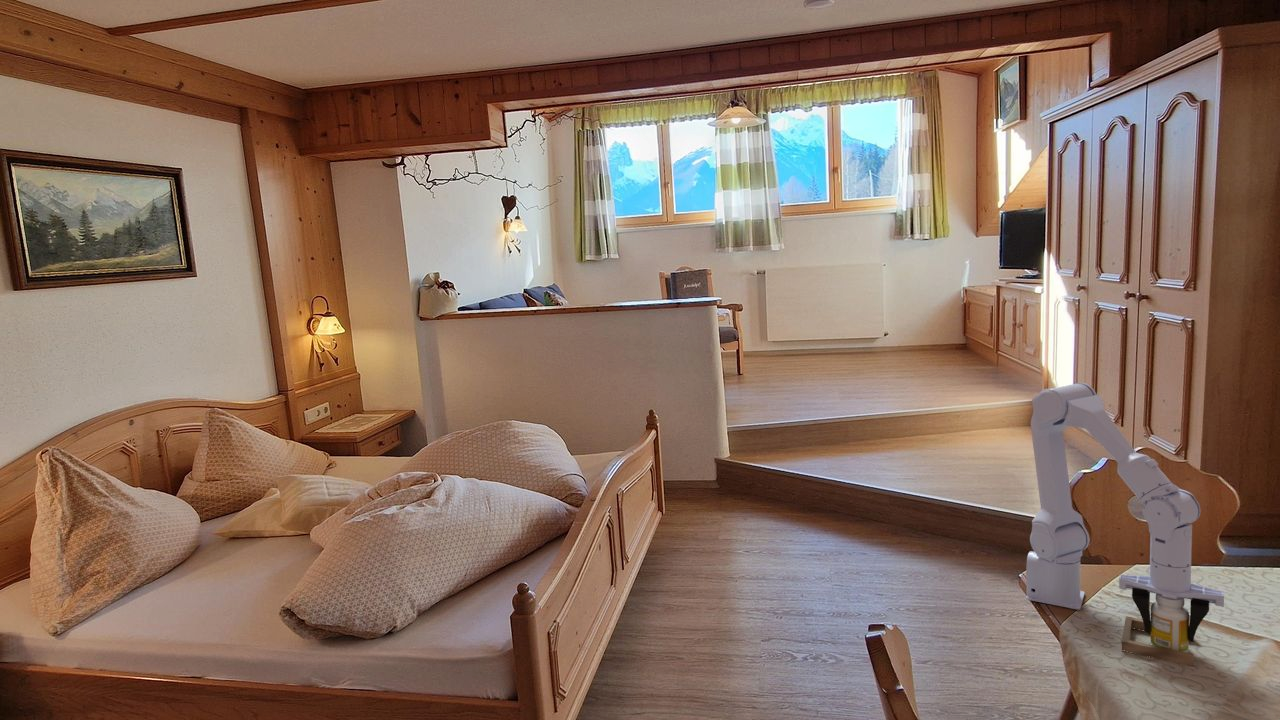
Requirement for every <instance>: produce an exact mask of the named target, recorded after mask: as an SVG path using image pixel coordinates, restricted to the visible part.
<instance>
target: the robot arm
mask: <svg viewBox="0 0 1280 720" xmlns="http://www.w3.org/2000/svg"><path fill="white" fill-rule="evenodd" d="M1031 402H1032V404H1031V405H1032V411H1033V413H1032V415H1031V419H1030V430H1031V431H1030V432H1031V438H1032V439H1031V440H1032V447H1033V448H1032V449H1033V456H1034V462H1035V472H1036V478H1037V480H1036V481H1037V489H1038V493H1039V497H1038V498H1039V504H1040V510H1039V511H1038V512H1037V514H1036V515H1035V516H1034V518H1033V519H1032V521H1031V525H1032V526H1031V533H1030V536H1029V542H1030V546H1031V548H1032V550H1031V551H1029V552H1028V553H1027V556H1026V564H1025V565H1026V567H1025V568H1026V575H1025V576H1026V577H1025V578H1026V583H1025V584H1026V585H1025V586H1026V596H1025V599H1026V600H1027V601H1028V600H1029V601H1033V602H1038V603H1042V604H1048V605H1052V606H1059V607H1062V608H1066V609H1067V608H1068V609H1071V610H1072V609H1073V610H1077V611H1079V610H1081V608H1082V604H1083V601H1084V597H1085V594H1086V592H1085V591H1083V590H1081V557H1083V551H1084V550H1086V549H1087V548H1088V546H1089V545H1090V535H1089V531H1088V530H1087V529H1086V526H1085V524H1084V519H1083V515H1081V514H1080V513H1079V512H1077V511H1076V510H1074V508H1073V503H1072V501H1073V500H1072V494H1071V486H1070V485H1071V484H1070V479H1069V471H1068V463H1067V454H1066V446H1065V438H1064V431H1065V430H1067V429H1068V427H1074V428H1080V429H1083V430H1086V431H1087V432H1088V433H1089V434H1090V435H1091V436H1092V438H1094V439H1095V440H1096V442H1097V443H1098V444H1099V445H1100V446H1101V447H1102V448H1103V449H1104V450H1105V451H1106V453H1108V454H1109V455H1110V456H1111V457H1112V458H1113V460H1114V461H1116V463H1117V468H1116V469H1117V470H1116V472H1117V474H1118V476H1119V477H1120V478H1121V479H1122V480H1123V482H1124V483H1125V484H1126V486H1127V487H1128V488H1129V489H1130V490H1131V492H1132V493H1133V494H1134V495H1135V496H1136V498H1137V499H1138V500H1139V501H1140V502H1141V504H1142V505H1143V506H1144V507H1142V508H1141V513H1142V516H1143V518H1144V520H1145V521H1146V522H1147V525H1148V532H1149V533H1150V541H1149V542H1150V543H1149V544H1150V545H1149V575H1147V576H1146V575H1145V576H1144V575H1143V576H1142V575H1128V574H1119V577H1118V579H1119V580H1118V586H1119V587H1118V589H1120V590H1127V589H1129V590H1131V591H1132V592H1131V599H1132V600H1133V602H1134V604H1135V605H1136V607H1137V610H1138V611H1139V614H1140V616H1141V618H1142V619H1143V622H1144V627H1145V633H1148V634H1151V633H1150V626H1151V605H1150V602H1151V601H1150V600H1151V597H1150V596H1151V593H1152V594H1156V593H1157V594H1162V596H1163V597H1167V598H1173V599H1176V598H1177V597H1179V598H1184V600H1185V599H1186V600H1190V608H1189V609H1190V612H1189V634H1188V641H1189V642H1192V643H1193V642H1195V641H1194V639H1195V635H1196V632H1197V630H1198V629H1199V627H1200V624H1201V623H1202V621H1203V619H1204V618H1205V617H1206V616H1207V615H1208V613H1209V611H1210V604H1214V605H1215V606H1217V607H1221V608H1223V607H1224V606H1225V605H1224V604H1225V592H1224V590H1223V591H1222V590H1217V589H1212V588H1209V587H1205V586H1202V585H1199V584H1194V583H1192V580H1191V577H1192V548H1193V547H1192V546H1193V545H1192V544H1193V539H1192V538H1193V524H1192V523H1194V522H1196V521H1197V520H1198V519H1199V518H1200V516H1201V505H1200V503H1199V502H1198V500H1197V499H1196V497H1195V495H1194V494H1193V493H1191V492H1189V491H1188V490H1186V489H1185V490H1184V489H1183V488H1182V489H1181V488H1180V487H1178V485H1176V484H1173V482H1172V481H1171V479H1169V478H1168V477H1167V475H1166V474H1165V473H1164V472H1163V471H1162V470H1161V469H1160V467H1159V463H1158V461H1156V460H1155V459H1154V458H1152V457H1150V456H1149V455H1147V454H1143V453H1139V452H1136V450H1135V449H1134V448H1133V446H1132V445H1131V444H1130V442H1129V440H1127V438H1126V437H1125V435H1124V434H1123V433H1122V432H1121V430H1120V428H1118V426H1117V425H1116V424H1115V422H1114V420H1112V418H1111V416H1109V414H1108V413H1107V411H1106V410H1105V406H1104V400H1103V398H1102V397H1101V396H1100V395H1098V394H1097V392H1096V390H1095V389H1094V388H1093V387H1092V386H1091V385H1089V383H1085V382H1076V383H1075V382H1074V383H1073V384H1068V385H1065V386H1064V385H1063V386H1057V387H1054V388H1045V389H1042V390H1041V391H1040V392H1039V393H1037V394H1036V395H1035V396H1034V397H1033V398H1032V399H1031Z"/></svg>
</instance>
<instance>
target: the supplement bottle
mask: <svg viewBox="0 0 1280 720" xmlns="http://www.w3.org/2000/svg"><path fill="white" fill-rule="evenodd" d="M1150 621H1151V633H1150V637H1149V638H1150V645H1155V646H1159V647H1164V648H1169V649H1173V650H1178V651H1183V652H1188V651H1189V646H1190V645H1189V643H1190V641H1188V634H1189V622H1190V612H1189V611H1188V609H1187V608H1186V607H1185V598H1179V597H1177V598H1176V599H1173V598H1167V597H1163V596H1162V594H1157V593H1155V602H1153V603H1152V604H1151V605H1150Z"/></svg>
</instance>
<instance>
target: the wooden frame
mask: <svg viewBox="0 0 1280 720" xmlns="http://www.w3.org/2000/svg"><path fill="white" fill-rule="evenodd" d="M1132 628H1135V629H1140V630H1144V631H1145V627H1144V622H1143V619H1141V618H1138V617H1137V618H1136V617H1133V616H1132V617H1131V616H1126V615H1125V618H1124V625H1123V631H1122V637H1121V650H1125V651H1128V652H1127V653H1129V652H1132V653H1131V654H1134V653H1135V655H1138V654H1139V656H1143V657H1147V656H1148V658H1152V657H1153V659H1157V660H1163V661H1167V662H1171V663H1175V664H1180V665H1184V666H1187V667H1194V664H1195V663H1194V661H1195V660H1194V658H1195V655H1194V653H1192V652H1188V651H1187V652H1183V651H1178V650H1173V649H1169V648H1164V647H1159V646H1155V645H1152V644H1151V643H1145V642H1140V641H1134V640H1131V638H1130V637H1131V636H1132V631H1131V630H1133V629H1132ZM1144 631H1143V632H1144ZM1150 632H1151V626H1150ZM1125 651H1124V652H1125ZM1149 656H1150V657H1149Z"/></svg>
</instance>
